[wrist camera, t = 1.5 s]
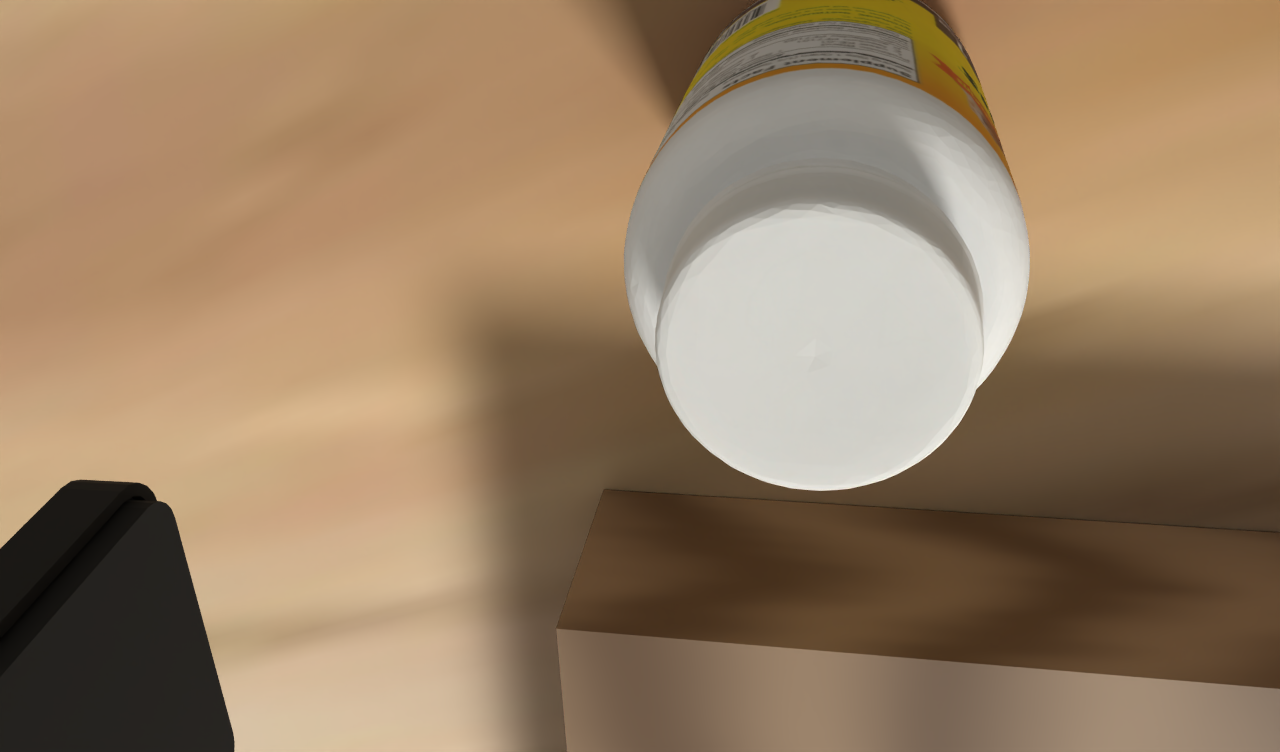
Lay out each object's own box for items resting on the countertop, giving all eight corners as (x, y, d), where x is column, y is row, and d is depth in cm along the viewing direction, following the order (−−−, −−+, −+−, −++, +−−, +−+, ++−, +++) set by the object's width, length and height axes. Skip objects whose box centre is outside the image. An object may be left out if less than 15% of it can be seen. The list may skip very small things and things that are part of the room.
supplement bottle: (960, 260, 24) (1014, 573, 15) (687, 239, 25) (587, 525, 16) (1005, -27, 22) (1102, 150, 13) (697, -41, 22) (585, 116, 13)
